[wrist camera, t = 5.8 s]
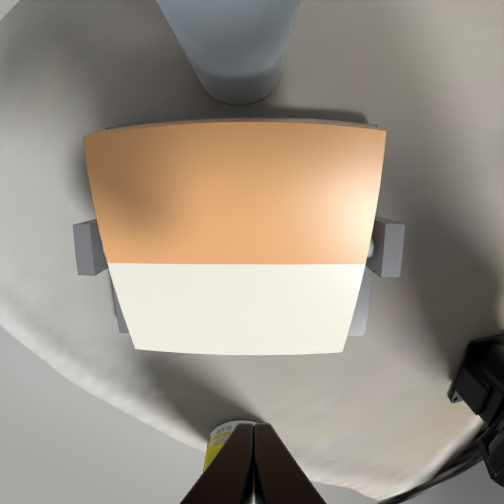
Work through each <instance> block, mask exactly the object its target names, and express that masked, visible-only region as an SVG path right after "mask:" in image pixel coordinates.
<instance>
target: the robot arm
mask: <svg viewBox="0 0 504 504" xmlns="http://www.w3.org/2000/svg"><path fill="white" fill-rule="evenodd" d="M449 400H450V401H451V403H456V402H459V401H463V400H464V401H465V403H466V404H467V405H468V406H469V407H470V409H471V410H472V411H473V412H474V413H475V415H479V416H480V417H481V419H482V420H483V421H484V422H485V423H486V425H487V426H488V427H489V428H488V429H487V431H486V432H485V433H484V434H483V436H481V437H480V438H479V439H478V440H477V444H478V446H479V450H480V452H481V455H482V457H483V460H484V462H485V465H486V467H487V469H488V473H489V475H490V478H491V479H492V480H493V481H494V482H496V483H498V484H499V485H500V486H502V487H504V334H501V335H497V336H492V337H488V338H484V339H479V340H474V341H472V342H471V343H470V344H469V345H468V348H467V351H466V355H465V358H464V361H463V364H462V367H461V369H460V372H459V375H458V378H457V380H456V383H455V386H454V388H453V391H452V393H451V396H450V399H449ZM253 493H254V497H255V504H326V502H325V501H324V500H323V498H322V497H321V496H320V494H319V493H318V492H317V491H316V489H315V488H314V486H313V485H312V483H311V482H310V481H309V479H308V478H307V477H306V475H305V474H304V472H303V471H302V470H301V468H300V467H299V465H298V464H297V462H296V461H295V460H294V458H293V457H292V455H291V454H290V452H289V451H288V449H287V448H286V446H285V445H284V443H283V442H282V440H281V439H280V437H279V436H278V434H277V433H276V431H275V430H274V428H273V427H272V425H271V424H269V423H256V424H255V425H253V424H252V423H239V424H237V425H236V427H235V428H234V430H233V431H232V433H231V434H230V436H229V437H228V438H227V440H226V441H225V443H224V444H223V446H222V447H221V449H220V450H219V451H218V453H217V454H216V456H215V457H214V458H213V460H212V461H211V463H210V464H209V465H208V467H207V468H206V470H205V471H204V472H203V474H202V475H201V476H200V478H199V479H198V480H197V482H196V483H195V484H194V486H193V487H192V488H191V490H190V491H189V492H188V493H187V495H186V496H185V497H184V499H183V500H182V501H181V502H180V504H252V502H253Z"/></svg>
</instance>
